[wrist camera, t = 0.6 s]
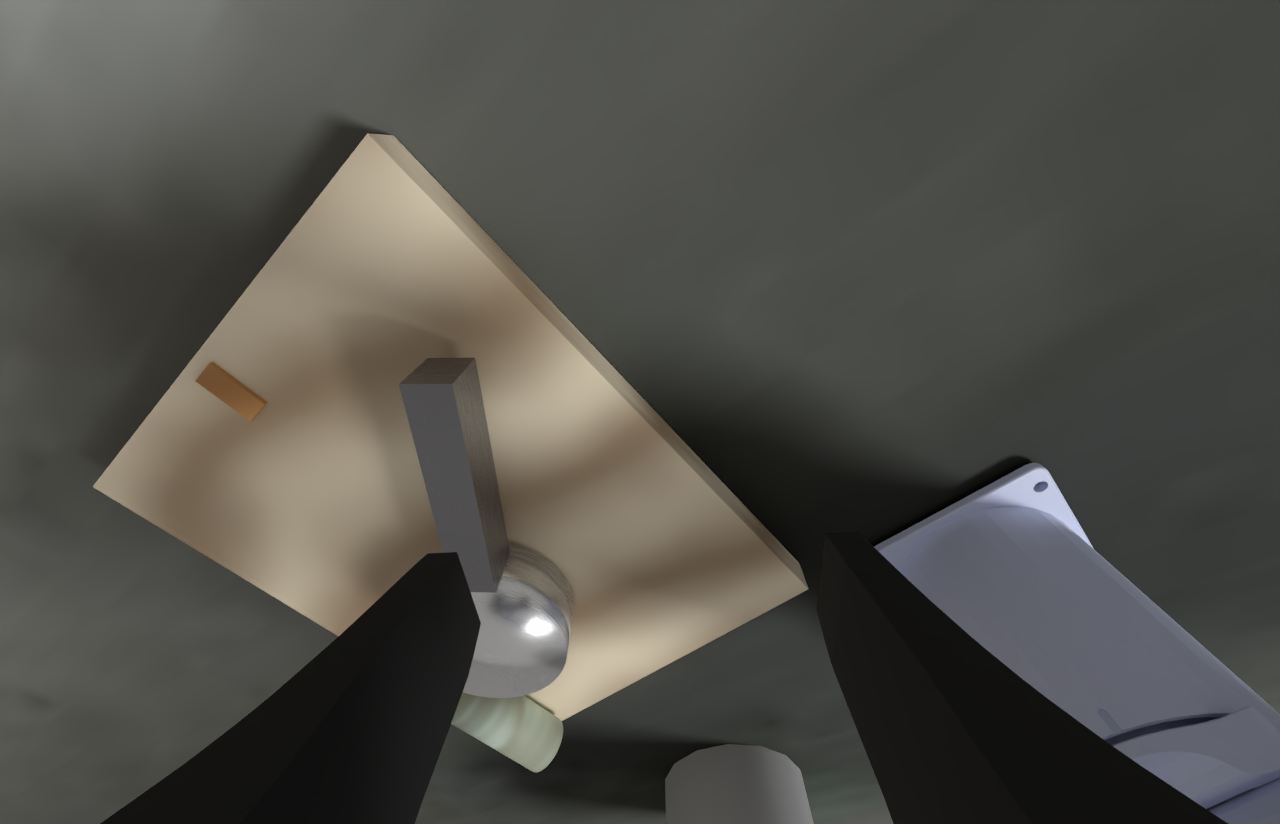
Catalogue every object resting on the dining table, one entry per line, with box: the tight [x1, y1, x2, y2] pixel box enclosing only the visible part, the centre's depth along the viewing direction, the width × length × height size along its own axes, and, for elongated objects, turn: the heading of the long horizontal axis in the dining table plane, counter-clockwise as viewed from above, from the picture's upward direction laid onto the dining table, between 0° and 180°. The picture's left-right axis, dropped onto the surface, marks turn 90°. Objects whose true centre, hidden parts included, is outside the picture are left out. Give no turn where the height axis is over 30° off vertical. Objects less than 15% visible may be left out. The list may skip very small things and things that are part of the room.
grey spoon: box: [399, 358, 575, 698], centre depth 18 cm, size 14×6×2 cm, turn 1°
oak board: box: [93, 133, 809, 772], centre depth 19 cm, size 22×18×4 cm
